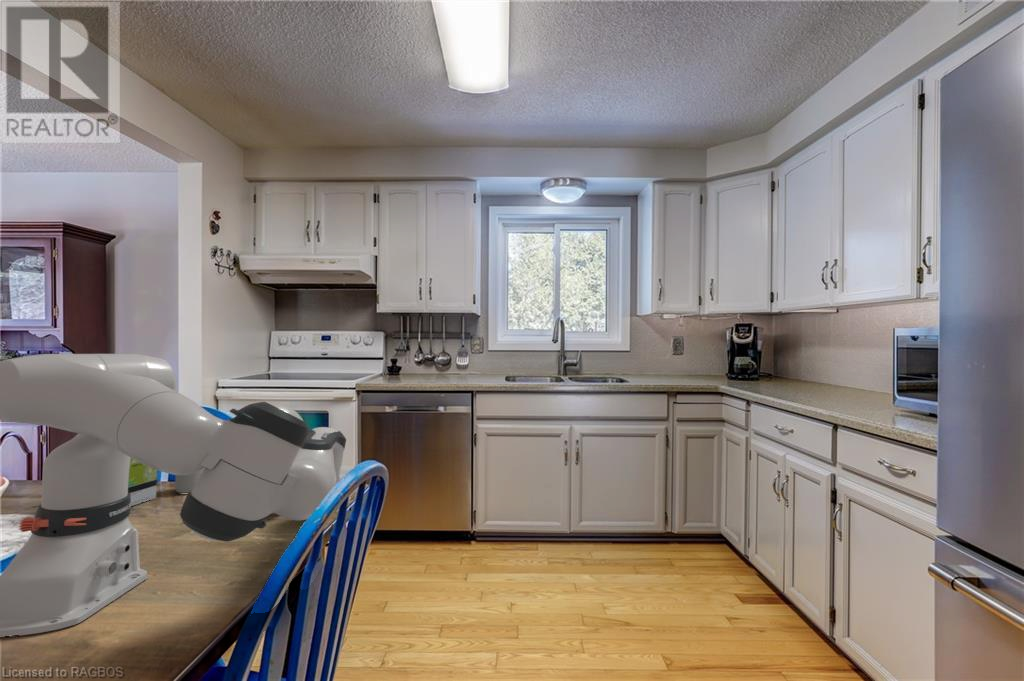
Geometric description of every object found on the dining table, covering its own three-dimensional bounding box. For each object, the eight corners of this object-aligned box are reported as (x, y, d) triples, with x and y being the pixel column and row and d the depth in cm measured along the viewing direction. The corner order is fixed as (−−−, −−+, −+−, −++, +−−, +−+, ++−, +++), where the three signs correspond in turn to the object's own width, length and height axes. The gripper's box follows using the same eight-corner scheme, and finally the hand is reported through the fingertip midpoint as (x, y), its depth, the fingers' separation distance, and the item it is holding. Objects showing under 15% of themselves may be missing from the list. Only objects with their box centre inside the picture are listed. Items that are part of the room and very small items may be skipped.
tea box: (100, 518, 112) (103, 454, 112) (64, 514, 113) (67, 451, 113) (158, 498, 126) (160, 442, 127) (125, 495, 128) (127, 439, 128)
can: (195, 495, 130) (197, 450, 130) (168, 494, 130) (169, 449, 130) (213, 487, 137) (215, 445, 137) (187, 486, 137) (189, 444, 137)
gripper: (279, 505, 113) (225, 502, 114) (324, 482, 133) (277, 479, 135) (280, 478, 113) (226, 475, 115) (325, 459, 133) (278, 456, 135)
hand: (254, 477), depth 125 cm, fingers closed
